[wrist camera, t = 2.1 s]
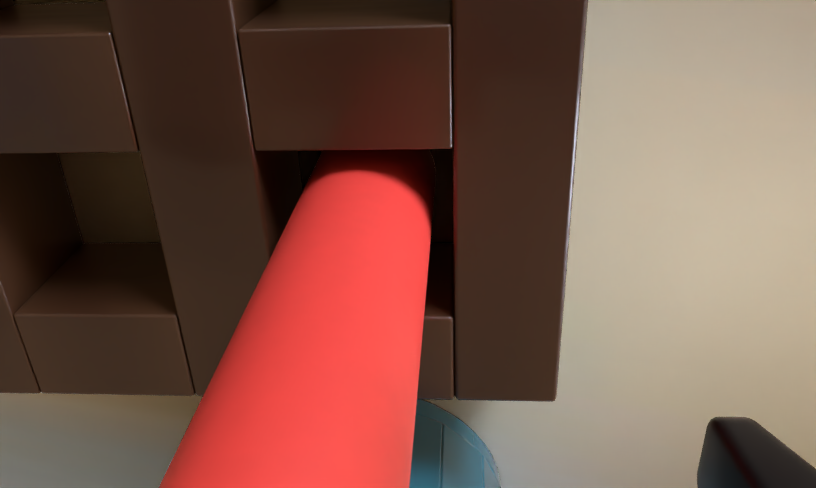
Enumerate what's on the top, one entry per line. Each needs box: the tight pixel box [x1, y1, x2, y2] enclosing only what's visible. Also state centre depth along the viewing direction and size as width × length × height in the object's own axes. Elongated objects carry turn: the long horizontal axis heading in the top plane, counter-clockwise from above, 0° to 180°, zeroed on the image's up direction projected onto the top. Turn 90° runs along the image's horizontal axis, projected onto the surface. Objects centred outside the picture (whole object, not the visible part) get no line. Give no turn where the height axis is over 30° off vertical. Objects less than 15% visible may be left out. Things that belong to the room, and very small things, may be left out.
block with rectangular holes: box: [0, 0, 588, 401], centre depth 13 cm, size 13×13×3 cm
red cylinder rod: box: [159, 149, 436, 488], centre depth 10 cm, size 2×2×11 cm
